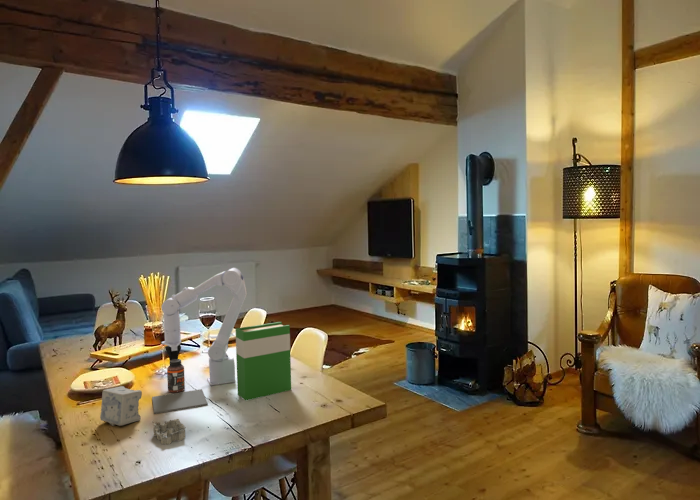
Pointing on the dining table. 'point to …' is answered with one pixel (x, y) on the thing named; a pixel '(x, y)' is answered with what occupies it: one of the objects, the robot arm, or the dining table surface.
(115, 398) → the incense holder
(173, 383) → the supplement bottle
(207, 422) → the dining table surface
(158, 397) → the mat
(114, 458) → the dining table surface
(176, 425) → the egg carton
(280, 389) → the hardback book
